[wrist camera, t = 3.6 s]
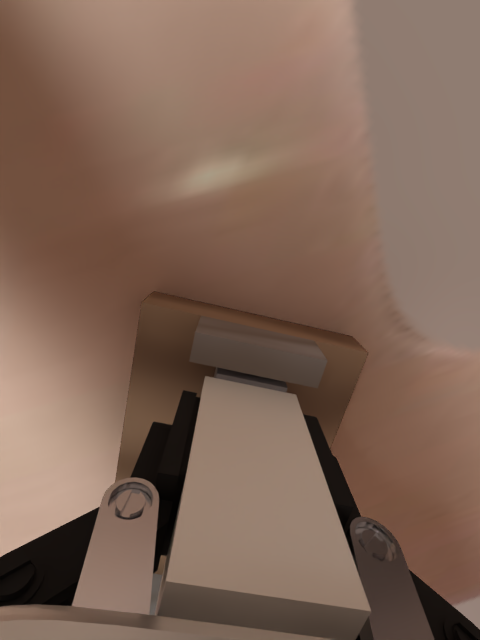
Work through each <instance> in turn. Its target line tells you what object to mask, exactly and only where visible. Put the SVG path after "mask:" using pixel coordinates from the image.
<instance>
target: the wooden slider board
mask: <svg viewBox="0 0 480 640" xmlns="http://www.w3.org/2000/svg"><path fill="white" fill-rule="evenodd" d="M367 355H368V352H367V351H366V350H365V349H364V348H363V347H362V346H361V345H360V344H359V343H358V342H357V341H356V340H355V339H354V338H353V337H352V336H348V335H344V334H339V333H335V332H330V331H326V330H322V329H317V328H313V327H308V326H304V325H299V324H295V323H291V322H286V321H282V320H277V319H273V318H269V317H264V316H260V315H255V314H251V313H246V312H242V311H238V310H233V309H229V308H224V307H220V306H216V305H211V304H207V303H202V302H198V301H193V300H189V299H185V298H180V297H176V296H171V295H167V294H163V293H158V292H153V293H152V294H150V295H149V296H148V297H147V298H146V299H145V300H144V301H142V303H141V310H140V317H139V324H138V330H137V337H136V344H135V351H134V357H133V364H132V371H131V378H130V385H129V391H128V398H127V405H126V412H125V419H124V425H123V432H122V439H121V446H120V452H119V459H118V466H117V473H116V480H115V483H116V482H117V481H119V480H122V479H125V478H130V477H131V474H132V472H133V469H134V467H135V465H136V462H137V460H138V457H139V455H140V452H141V450H142V447H143V445H144V442H145V440H146V438H147V435H148V433H149V430H150V428H151V425H152V423H153V422H160V423H165V424H170V425H172V424H173V421H174V418H175V414H176V411H177V408H178V405H179V401H180V398H181V395H182V392H183V390H185V391H190V392H195V393H197V395H196V397H201V392H202V388H203V384H204V379H205V376H208V377H213V378H214V374H215V370H216V367H218V368H222V369H227V370H232V371H237V372H241V373H246V374H251V375H256V376H261V377H265V378H270V379H275V380H280V381H284V382H286V385H287V391H286V393H291V394H295V395H296V396H297V399H298V402H299V405H300V408H301V410H302V413H303V414H305V415H310V416H315V417H317V419H318V421H319V424H320V426H321V429H322V431H323V433H324V436H325V438H326V441H327V443H328V446H329V448H331V445H332V443H333V440H334V438H335V435H336V433H337V430H338V428H339V425H340V423H341V420H342V418H343V415H344V413H345V410H346V408H347V405H348V403H349V400H350V398H351V395H352V393H353V390H354V388H355V385H356V383H357V380H358V378H359V375H360V373H361V370H362V368H363V365H364V363H365V360H366V358H367ZM165 561H166V556H162V555H161V557H160V562H159V566H158V570H157V571H156V572H155V573H153V578H152V590H151V601H150V613H149V615H155V610H156V605H157V600H158V596H159V591H160V586H161V581H162V576H163V571H164V566H165Z"/></svg>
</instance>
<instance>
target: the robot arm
mask: <svg viewBox="0 0 480 640" xmlns="http://www.w3.org/2000/svg"><path fill="white" fill-rule="evenodd" d="M196 395H197V393H195V392H190V391H185V390H183V392H182V395H181V398H180V401H179V405H178V408H177V411H176V414H175V418H174V421H173V424H172V425H170V424H165V423H160V422H153V423H152V425H151V428H150V430H149V433H148V435H147V438H146V440H145V442H144V445H143V447H142V450H141V452H140V455H139V457H138V460H137V462H136V465H135V467H134V469H133V472H132V474H131V477H130V478H125V479H122V480H119V481H117V482H116V483H114V484H113V485H111V486H110V487H109V488H108V489H107V490H106V492H105V494H104V496H103V498H102V501H101V505H100V507H98V508H96V509H94V510H92V511H90V512H88V513H86V514H84V515H82V516H80V517H78V518H76V519H74V520H72V521H70V522H68V523H66V524H64V525H63V526H61V527H59V528H57V529H55V530H53V531H51V532H49V533H47V534H45V535H43V536H41V537H39V538H37V539H35V540H33V541H31V542H29V543H27V544H25V545H23V546H21V547H19V548H17V549H15V550H13V551H11V552H9V553H7V554H5V555H3V556H2V557H0V640H335V639H328V638H320V637H313V636H306V635H298V634H291V633H284V632H276V631H269V630H262V629H254V628H247V627H240V626H232V625H224V624H217V623H209V622H201V621H194V620H186V619H178V618H170V617H163V616H155V615H149V613H150V601H151V590H152V578H153V573H155V572H156V571H157V570H158V566H159V562H160V557H161V555H162V556H167V554H168V549H169V545H170V541H171V537H172V532H173V528H174V524H175V520H176V515H177V511H178V507H179V502H180V498H181V494H182V490H183V485H184V481H185V476H186V471H187V466H188V461H189V456H190V451H191V446H192V440H193V435H194V430H195V425H196V420H197V415H198V409H199V404H200V399H201V398H200V397H196ZM303 416H304V419H305V422H306V425H307V428H308V431H309V433H310V436H311V439H312V442H313V445H314V448H315V451H316V454H317V456H318V459H319V462H320V465H321V468H322V471H323V474H324V477H325V479H326V482H327V485H328V488H329V491H330V494H331V497H332V500H333V502H334V505H335V508H336V511H337V514H338V517H339V520H340V523H341V525H342V528H343V531H344V534H345V537H346V540H347V543H348V546H349V548H350V551H351V554H352V557H353V560H354V563H355V566H356V569H357V571H358V574H359V577H360V580H361V583H362V586H363V589H364V592H365V594H366V597H367V600H368V603H369V606H370V609H371V613H370V615H369V616H368V618H367V620H366V622H365V624H364V625H363V627H362V629H361V631H360V632H359V634H358V636H357V638H356V640H480V630H479V629H478V628H477V627H476V626H475V625H474V624H473V623H472V622H471V621H470V620H468V619H467V618H466V617H465V616H463V615H462V614H461V613H460V612H459V611H458V610H456V609H455V608H454V607H453V606H452V605H450V604H449V603H448V602H447V601H446V600H445V599H443V598H442V597H441V596H440V595H439V594H437V593H436V592H435V591H434V590H433V589H431V588H430V587H429V586H428V585H427V584H425V583H424V582H423V581H422V580H421V579H420V578H418V577H417V576H416V575H415V574H414V573H412V572H411V571H410V570H409V569H408V566H407V563H406V561H405V558H404V555H403V553H402V550H401V548H400V546H399V544H398V542H397V540H396V539H395V537H394V536H393V535H392V533H391V532H390V531H389V530H387V529H386V528H385V527H384V526H383V525H381V524H380V523H378V522H377V521H375V520H372V519H370V518H366V517H361V515H360V513H359V510H358V508H357V506H356V503H355V501H354V499H353V496H352V494H351V492H350V489H349V487H348V485H347V482H346V480H345V477H344V475H343V473H342V470H341V468H340V466H339V463H338V461H337V459H336V457H334V456H333V455H332V453H331V450H330V448H329V446H328V443H327V441H326V438H325V436H324V433H323V431H322V429H321V426H320V424H319V421H318V419H317V417H315V416H310V415H305V414H303Z"/></svg>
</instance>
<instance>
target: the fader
mask: <svg viewBox="0 0 480 640" xmlns="http://www.w3.org/2000/svg"><path fill="white" fill-rule="evenodd" d="M286 391H287V385H286V382H284V381H280V380H275V379H270V378H265V377H261V376H256V375H251V374H246V373H241V372H237V371H232V370H227V369H222V368H218V367H216V370H215V374H214V378H213V377H208V376H205V379H204V384H203V388H202V392H201V397H200V398H201V399H200V404H199V409H198V415H197V420H196V425H195V430H194V435H193V440H192V446H191V451H190V456H189V461H188V466H187V471H186V476H185V481H184V485H183V490H182V494H181V498H180V502H179V507H178V511H177V515H176V520H175V524H174V528H173V532H172V537H171V541H170V545H169V549H168V554H167V556H166V561H165V566H164V571H163V576H162V581H161V586H160V591H159V596H158V600H157V605H156V610H155V616H163V617H170V618H178V619H186V620H194V621H201V622H209V623H217V624H224V625H232V626H240V627H247V628H254V629H262V630H269V631H276V632H284V633H291V634H298V635H306V636H313V637H320V638H328V639H335V640H356V638H357V636H358V634H359V632H360V631H361V629H362V627H363V625H364V624H365V622H366V620H367V618H368V616H369V615H370V613H371V609H370V606H369V603H368V600H367V597H366V594H365V592H364V589H363V586H362V583H361V580H360V577H359V574H358V571H357V569H356V566H355V563H354V560H353V557H352V554H351V551H350V548H349V546H348V543H347V540H346V537H345V534H344V531H343V528H342V525H341V523H340V520H339V517H338V514H337V511H336V508H335V505H334V502H333V500H332V497H331V494H330V491H329V488H328V485H327V482H326V479H325V477H324V474H323V471H322V468H321V465H320V462H319V459H318V456H317V454H316V451H315V448H314V445H313V442H312V439H311V436H310V433H309V431H308V428H307V425H306V422H305V419H304V416H303V413H302V410H301V408H300V405H299V402H298V399H297V396H296V395H295V394H291V393H286Z"/></svg>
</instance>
